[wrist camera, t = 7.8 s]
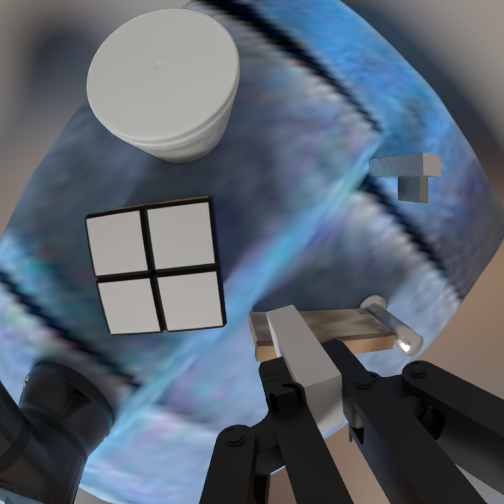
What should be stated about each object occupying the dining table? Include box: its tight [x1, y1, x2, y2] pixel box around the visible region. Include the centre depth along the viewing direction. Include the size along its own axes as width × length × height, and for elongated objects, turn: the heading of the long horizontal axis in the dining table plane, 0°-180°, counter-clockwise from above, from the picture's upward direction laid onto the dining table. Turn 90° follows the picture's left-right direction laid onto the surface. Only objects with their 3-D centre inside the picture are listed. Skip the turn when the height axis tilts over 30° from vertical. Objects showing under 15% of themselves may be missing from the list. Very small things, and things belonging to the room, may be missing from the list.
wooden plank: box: [248, 308, 396, 361], centre depth 29 cm, size 14×2×8 cm, turn 86°
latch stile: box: [369, 153, 441, 203], centre depth 26 cm, size 3×5×10 cm
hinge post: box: [358, 295, 423, 356], centre depth 30 cm, size 4×4×10 cm
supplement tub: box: [87, 8, 240, 163], centre depth 20 cm, size 10×10×15 cm
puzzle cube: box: [84, 195, 227, 336], centre depth 25 cm, size 10×10×10 cm
